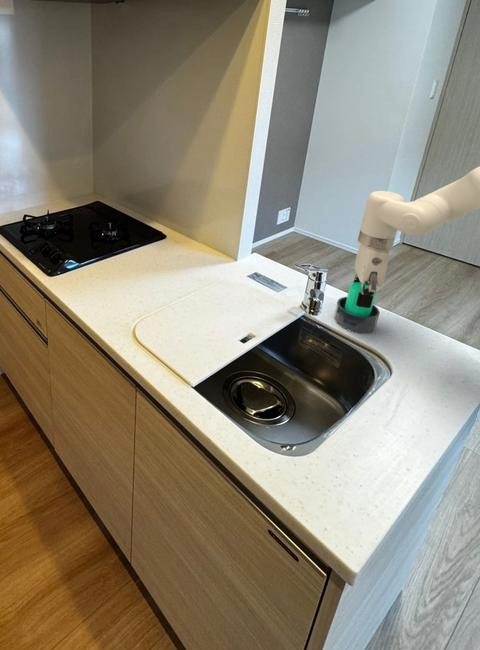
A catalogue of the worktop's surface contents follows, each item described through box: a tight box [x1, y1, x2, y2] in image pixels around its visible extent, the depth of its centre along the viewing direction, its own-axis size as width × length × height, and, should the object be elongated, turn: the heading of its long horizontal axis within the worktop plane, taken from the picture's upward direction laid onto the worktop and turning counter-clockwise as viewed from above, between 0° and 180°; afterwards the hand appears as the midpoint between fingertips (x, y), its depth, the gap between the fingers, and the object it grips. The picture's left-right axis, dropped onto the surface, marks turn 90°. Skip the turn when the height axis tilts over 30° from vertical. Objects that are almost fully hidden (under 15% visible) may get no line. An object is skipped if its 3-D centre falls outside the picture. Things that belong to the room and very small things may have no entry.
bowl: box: [333, 296, 380, 335], centre depth 113 cm, size 10×10×5 cm
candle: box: [344, 282, 377, 317], centre depth 111 cm, size 6×6×12 cm
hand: (360, 299), depth 111 cm, fingers closed on candle, 5 cm apart
